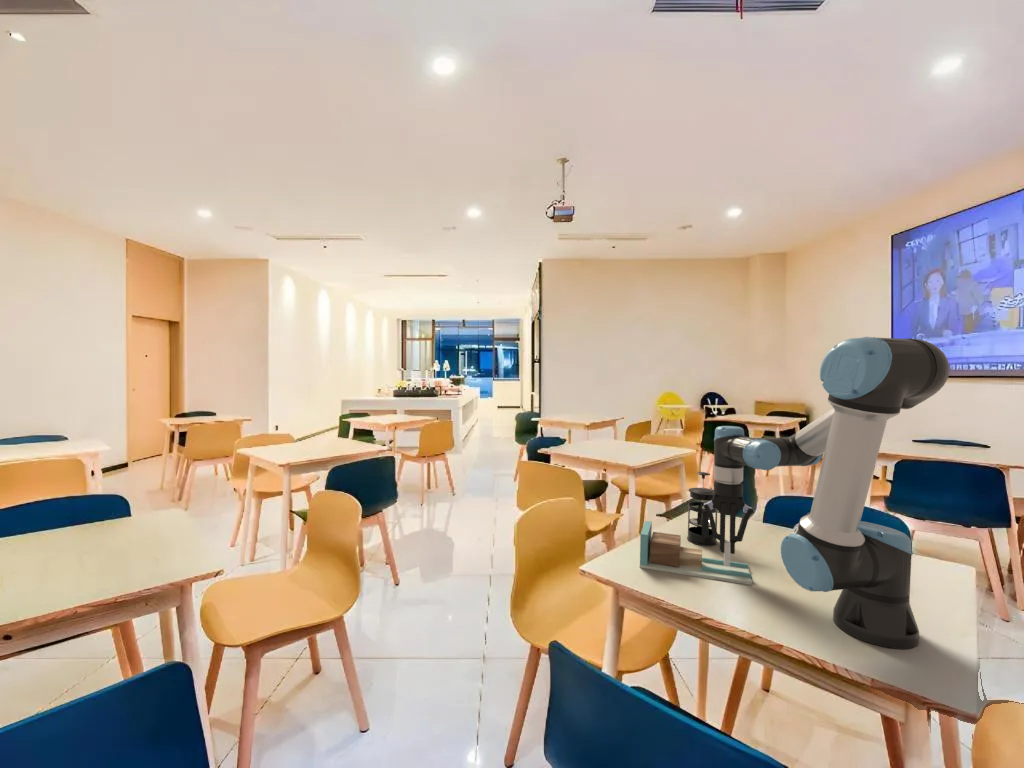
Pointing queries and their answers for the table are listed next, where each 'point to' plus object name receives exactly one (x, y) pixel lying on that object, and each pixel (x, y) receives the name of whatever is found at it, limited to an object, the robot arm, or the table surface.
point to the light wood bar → (690, 557)
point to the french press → (701, 516)
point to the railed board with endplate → (708, 569)
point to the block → (665, 549)
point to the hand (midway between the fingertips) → (726, 564)
